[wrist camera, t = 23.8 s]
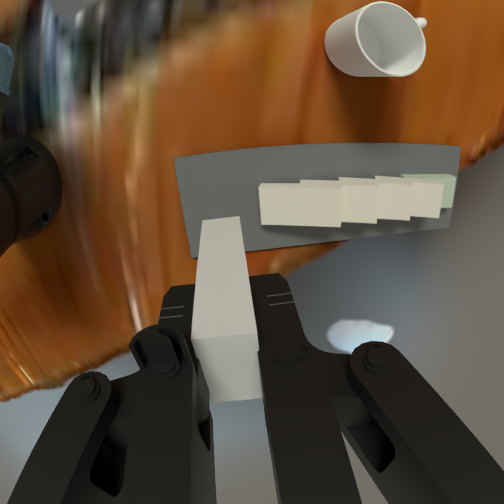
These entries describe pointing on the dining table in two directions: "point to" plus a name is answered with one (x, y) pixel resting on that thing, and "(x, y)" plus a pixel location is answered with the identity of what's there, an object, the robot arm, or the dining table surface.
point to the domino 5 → (445, 179)
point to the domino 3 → (391, 197)
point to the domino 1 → (300, 204)
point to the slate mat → (292, 171)
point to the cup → (377, 41)
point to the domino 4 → (423, 196)
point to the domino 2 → (356, 200)
